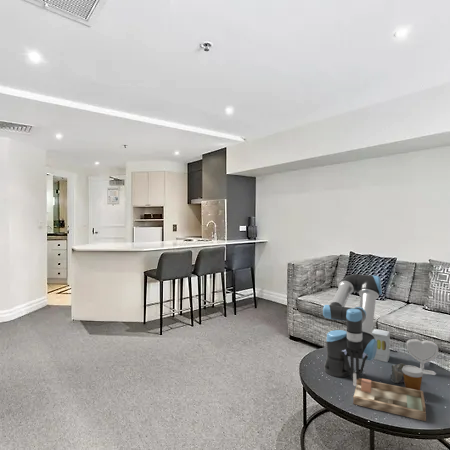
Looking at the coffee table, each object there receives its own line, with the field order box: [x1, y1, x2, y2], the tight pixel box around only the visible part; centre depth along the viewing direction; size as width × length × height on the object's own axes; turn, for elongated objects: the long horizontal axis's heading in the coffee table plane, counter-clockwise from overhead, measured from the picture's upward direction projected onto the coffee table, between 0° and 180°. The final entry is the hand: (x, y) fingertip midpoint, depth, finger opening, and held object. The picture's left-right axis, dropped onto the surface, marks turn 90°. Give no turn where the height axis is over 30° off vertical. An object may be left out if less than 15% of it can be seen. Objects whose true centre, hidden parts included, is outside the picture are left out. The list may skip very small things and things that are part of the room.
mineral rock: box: [390, 362, 406, 384], centre depth 175 cm, size 13×11×10 cm
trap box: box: [352, 377, 427, 422], centre depth 155 cm, size 30×16×6 cm, turn 62°
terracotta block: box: [361, 377, 372, 393], centre depth 163 cm, size 4×4×4 cm
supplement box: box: [372, 328, 391, 363], centre depth 203 cm, size 10×9×17 cm
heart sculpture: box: [406, 338, 439, 376], centre depth 185 cm, size 16×5×18 cm, turn 66°
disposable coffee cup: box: [402, 364, 424, 391], centre depth 164 cm, size 10×10×12 cm
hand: (355, 384), depth 165 cm, fingers closed
